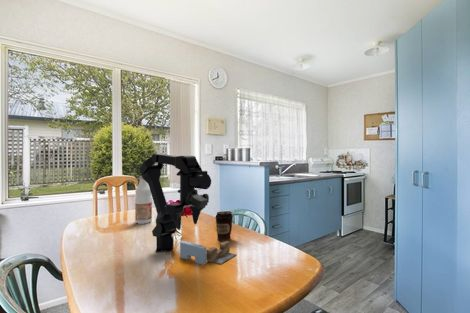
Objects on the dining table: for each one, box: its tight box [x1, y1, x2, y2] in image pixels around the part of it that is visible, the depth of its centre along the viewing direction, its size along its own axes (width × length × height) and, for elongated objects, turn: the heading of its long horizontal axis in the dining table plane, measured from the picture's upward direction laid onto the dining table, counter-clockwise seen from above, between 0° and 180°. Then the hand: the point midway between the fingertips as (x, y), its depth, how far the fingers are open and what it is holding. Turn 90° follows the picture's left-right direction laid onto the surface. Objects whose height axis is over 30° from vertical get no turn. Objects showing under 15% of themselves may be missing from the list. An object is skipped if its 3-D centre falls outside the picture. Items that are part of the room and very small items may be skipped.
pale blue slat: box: [179, 240, 208, 265], centre depth 94 cm, size 12×2×6 cm, turn 55°
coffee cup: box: [215, 210, 234, 242], centre depth 118 cm, size 9×8×13 cm
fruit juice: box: [134, 175, 153, 225], centre depth 149 cm, size 9×9×28 cm
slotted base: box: [206, 241, 237, 265], centre depth 97 cm, size 12×10×4 cm
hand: (187, 226), depth 97 cm, fingers open, 9 cm apart
